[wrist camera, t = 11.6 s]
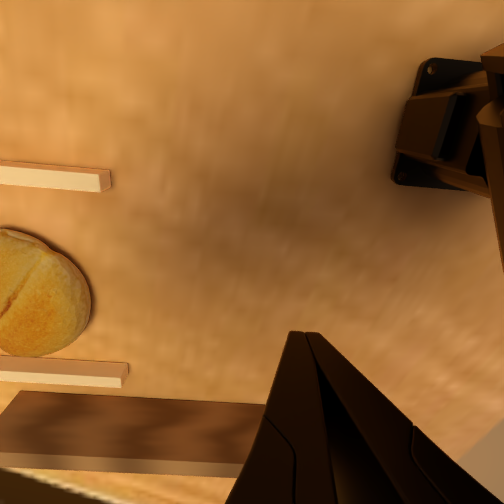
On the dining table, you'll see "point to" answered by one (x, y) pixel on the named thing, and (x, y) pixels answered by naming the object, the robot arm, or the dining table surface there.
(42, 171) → the serving bay
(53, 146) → the dining table surface
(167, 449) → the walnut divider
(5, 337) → the bread roll
